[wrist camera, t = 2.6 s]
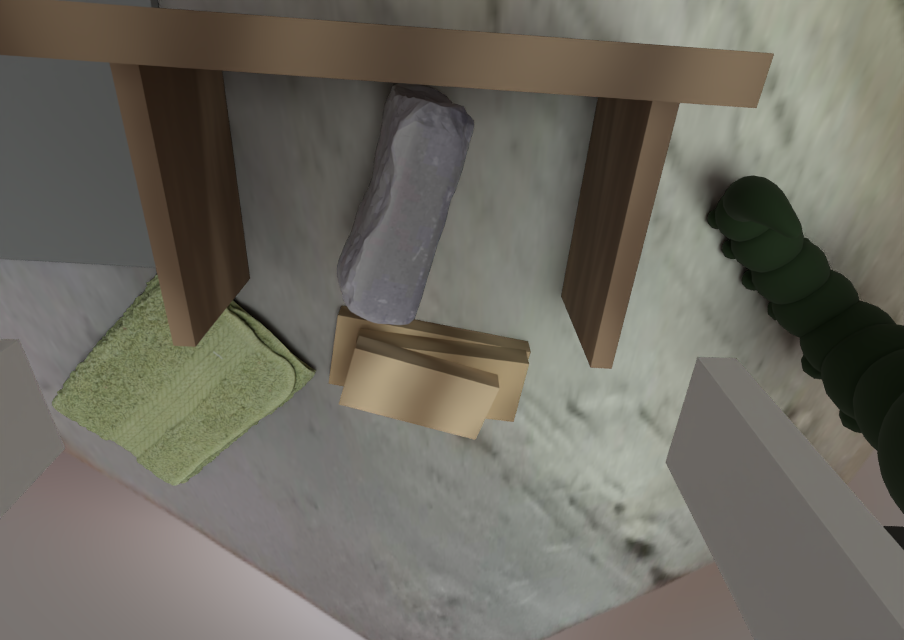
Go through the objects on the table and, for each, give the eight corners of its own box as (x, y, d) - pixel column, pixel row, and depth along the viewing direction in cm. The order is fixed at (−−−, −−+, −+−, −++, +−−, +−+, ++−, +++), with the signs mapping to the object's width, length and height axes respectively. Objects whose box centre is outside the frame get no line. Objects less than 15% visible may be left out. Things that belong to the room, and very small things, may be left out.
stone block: (417, 269, 37) (407, 345, 28) (350, 247, 36) (318, 319, 27) (478, 95, 31) (490, 121, 22) (401, 64, 30) (381, 80, 22)
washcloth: (327, 363, 41) (318, 387, 38) (192, 473, 47) (176, 502, 44) (184, 243, 36) (162, 262, 33) (53, 382, 42) (24, 408, 39)
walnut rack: (232, 277, 37) (109, 419, 24) (191, 9, 29) (-27, -6, 16) (577, 297, 38) (647, 444, 24) (629, 41, 30) (774, 53, 16)
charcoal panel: (-4, 253, 36) (-13, 258, 35) (-128, -73, 27) (-144, -75, 26) (204, 265, 36) (199, 270, 36) (148, -51, 28) (140, -53, 27)
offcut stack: (333, 370, 41) (318, 412, 37) (342, 301, 38) (328, 339, 34) (506, 401, 43) (512, 446, 38) (527, 338, 40) (537, 378, 35)
